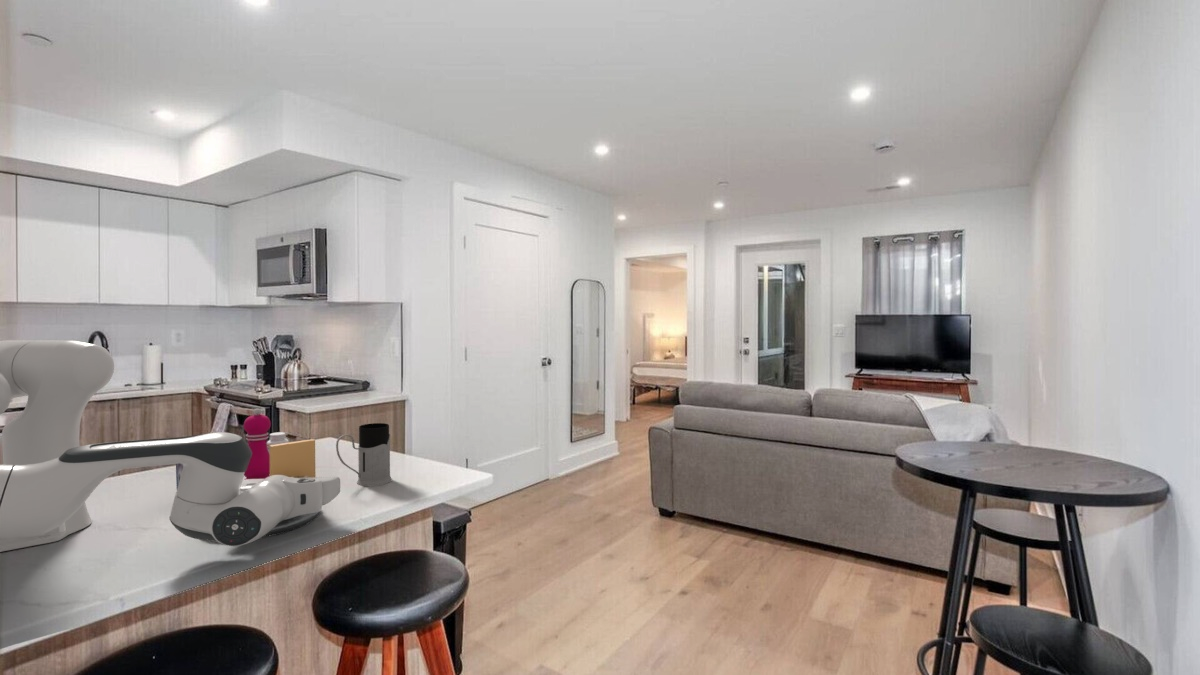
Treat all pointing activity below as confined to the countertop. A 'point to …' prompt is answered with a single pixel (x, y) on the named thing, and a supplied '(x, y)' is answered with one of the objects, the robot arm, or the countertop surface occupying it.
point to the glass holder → (372, 454)
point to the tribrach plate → (292, 523)
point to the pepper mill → (258, 445)
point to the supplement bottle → (277, 439)
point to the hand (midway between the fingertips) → (300, 479)
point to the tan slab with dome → (293, 458)
